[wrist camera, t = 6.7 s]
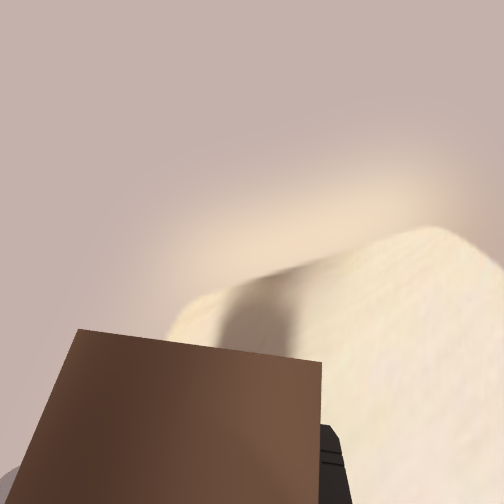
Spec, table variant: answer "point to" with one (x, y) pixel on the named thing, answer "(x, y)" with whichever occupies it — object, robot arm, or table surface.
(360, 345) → the table surface
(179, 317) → the table surface
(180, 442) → the post
